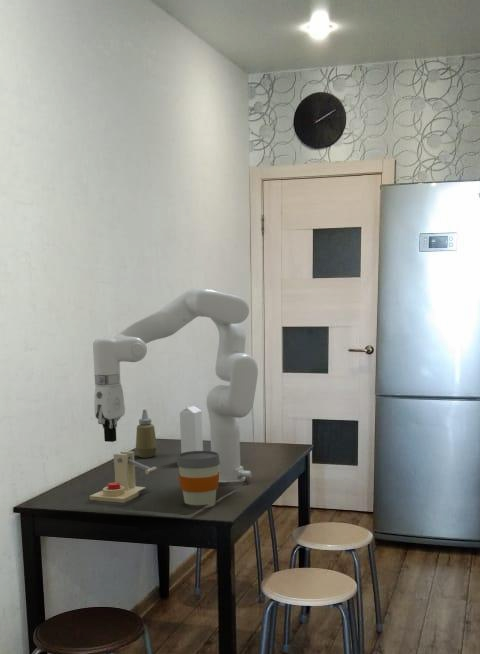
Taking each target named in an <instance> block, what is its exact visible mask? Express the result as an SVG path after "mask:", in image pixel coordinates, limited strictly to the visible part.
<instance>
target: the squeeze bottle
mask: <svg viewBox="0 0 480 654" xmlns="http://www.w3.org/2000/svg"><path fill="white" fill-rule="evenodd" d="M135 449H136V453H137V455H138V457H139V458H144V459H145V458H146V459H147V458H148V459H149V458H153V457H155V455H156V452H157V449H158V444H157V437H156V429H155V425H154V424H152V418H149V415H148V411H147V409H143V410H142V415H141V418H140V419H138V425H137V426H136V437H135Z"/></svg>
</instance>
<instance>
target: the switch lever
mask: <svg viewBox="0 0 480 654" xmlns="http://www.w3.org/2000/svg"><path fill="white" fill-rule="evenodd" d="M122 454H124V453H122ZM127 456H128V463H130V464H133V465H135V467H137V468H140V469H141V470H144V473H145V474H146V475H150V474H152V473H155V472H157V471H158V467H156V466H152V467H150V466H147V465H145V464H143V463H140V462H138V461H136V460H135V459H134V460H131V459H130V456H129V455H127Z"/></svg>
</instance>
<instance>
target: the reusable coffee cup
mask: <svg viewBox="0 0 480 654" xmlns="http://www.w3.org/2000/svg"><path fill="white" fill-rule="evenodd" d="M176 462H177V463H176V466H177V467H178V480H179V485H180V487H179V488H180V490H181V491H182V495H183V496H182V497H183V502H184V504H186V505H189V506H203V507H202V509H207V508H211V507H214V506H215V505H216V499H217V489H218V488H219V483H220V482H219V472H218V468H219V464H220V460H219V454H218V453H217V452H213V451H211V450H203V451H190V452H184V453H181V452H180V453H179V454H178V455H177V461H176Z"/></svg>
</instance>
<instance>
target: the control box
mask: <svg viewBox="0 0 480 654" xmlns="http://www.w3.org/2000/svg"><path fill="white" fill-rule="evenodd" d="M139 496H140V491H138V492H135V491H125V487H124V486H120V489H116V490H109V489H108V486H104V487H103V488H102V490H100V491H97V492H96V493H93V494H91V495H89V501H99V502H108V503H109V502H110V503H120V504H122V503H123V504H124V503H126V502H127V503H128V502H129V501H131V500H133V499H135V498H138V497H139Z"/></svg>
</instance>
